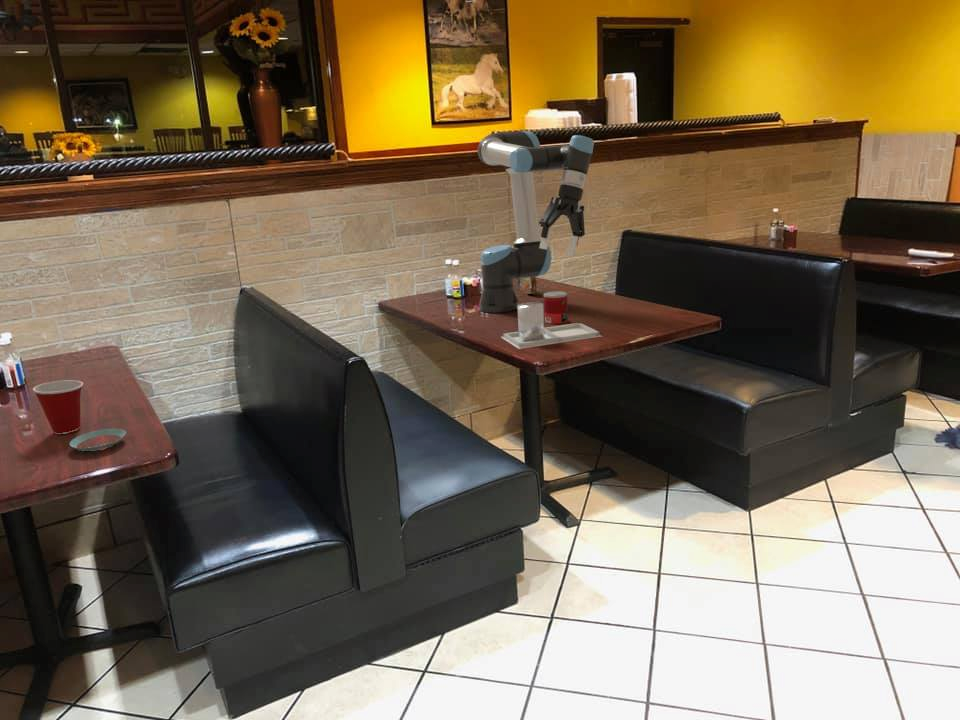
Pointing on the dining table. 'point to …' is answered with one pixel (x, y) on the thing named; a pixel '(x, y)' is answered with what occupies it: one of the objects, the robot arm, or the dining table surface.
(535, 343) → the divided white tray
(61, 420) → the plastic cup
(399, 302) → the dining table surface
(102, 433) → the saucer
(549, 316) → the canned food
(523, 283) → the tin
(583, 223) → the robot arm
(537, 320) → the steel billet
